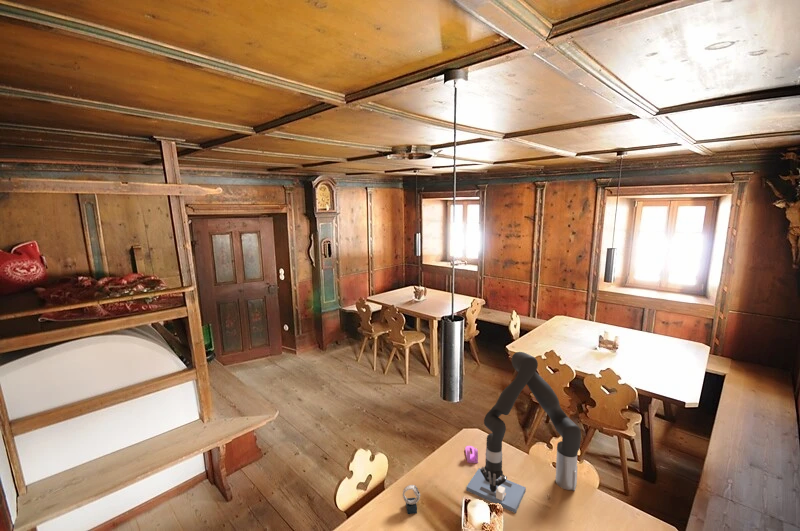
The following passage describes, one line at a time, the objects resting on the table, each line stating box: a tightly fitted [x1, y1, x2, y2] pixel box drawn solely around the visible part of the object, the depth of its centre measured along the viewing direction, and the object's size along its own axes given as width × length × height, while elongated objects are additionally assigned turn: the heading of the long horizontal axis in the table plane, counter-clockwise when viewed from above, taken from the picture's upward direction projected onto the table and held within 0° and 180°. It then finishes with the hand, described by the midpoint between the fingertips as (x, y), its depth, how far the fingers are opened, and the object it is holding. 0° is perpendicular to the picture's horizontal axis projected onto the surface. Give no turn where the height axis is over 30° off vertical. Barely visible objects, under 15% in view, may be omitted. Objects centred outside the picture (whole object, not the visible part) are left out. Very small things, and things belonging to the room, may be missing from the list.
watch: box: [402, 484, 421, 515], centre depth 158 cm, size 6×8×11 cm
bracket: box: [464, 445, 479, 464], centre depth 196 cm, size 13×6×7 cm, turn 176°
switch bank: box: [465, 467, 527, 514], centre depth 169 cm, size 24×16×2 cm, turn 55°
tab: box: [496, 486, 505, 500], centre depth 162 cm, size 3×4×4 cm
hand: (493, 490), depth 165 cm, fingers closed
